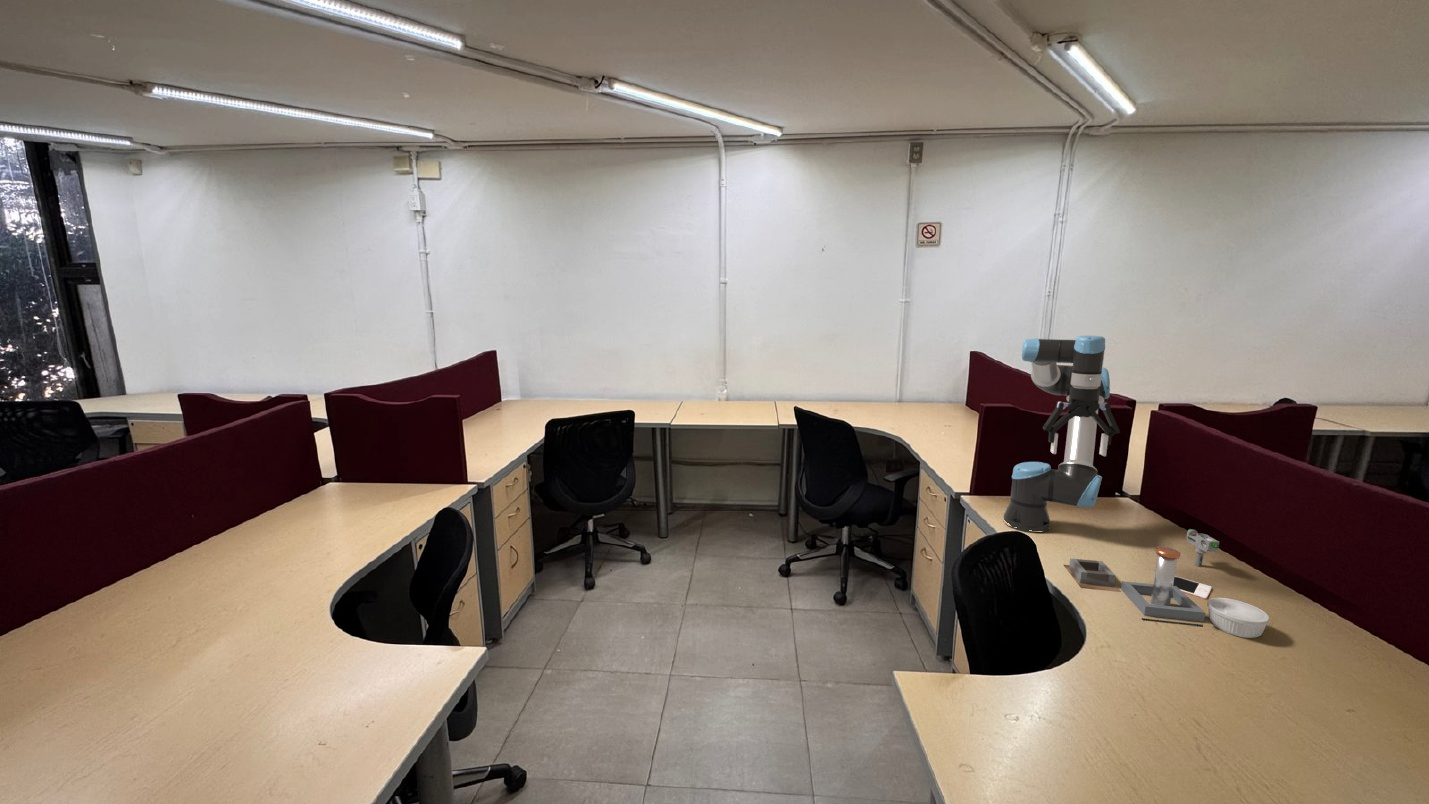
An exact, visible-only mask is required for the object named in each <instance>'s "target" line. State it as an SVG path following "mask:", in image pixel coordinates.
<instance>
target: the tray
mask: <svg viewBox="0 0 1429 804" xmlns="http://www.w3.org/2000/svg"><path fill="white" fill-rule="evenodd" d="M1120 586H1121V587H1120V591H1121V592H1123V594H1125V596H1126V597H1127V598H1128V599H1129V600H1130V601H1131V602H1132V603H1133V604H1134V606H1135V607H1136V608H1137V609H1138V610H1139V611H1140V613H1141V614H1142V615H1143V616H1144V617H1145V616H1146V617H1154V618H1155V617H1156V618H1165V619H1166V618H1167V619H1173V620H1174V619H1176V620H1182V621H1192V622H1201V623H1203V622H1205V617H1206V612H1205V611H1204V609H1202V608H1200V606H1199V605H1197V604H1196V603H1195V602H1194V601H1193V600H1192V599H1191V598H1190V597H1188V596H1189V595H1188V596H1187V594H1185V593H1183V592H1182V591H1181V590H1180V589H1179V588H1178V587H1177V586H1173V590H1172V597H1171V599H1172V598H1173V600H1174V601H1175V602H1176V603H1177V604H1178V605H1179V606H1171V605H1170V606H1163V605H1153V604H1151V603H1149V602H1148V601H1147V600H1146V599H1145V597H1143V596H1142V595H1148V596H1149V595H1150V596H1152V590H1153V583H1145V582H1136V581H1121V585H1120ZM1144 617H1142V618H1141V619H1142V620H1143V621H1146V622H1152V623H1153V622H1155V623H1163V624H1164V623H1166V624H1172V625H1181V626H1182V625H1183V626H1189V627H1191V626H1192V627H1201V628H1203V627H1204V624H1198V623H1190V622H1180V621H1173V620H1172V621H1170V620H1163V619H1162V620H1161V619H1154V618H1153V619H1151V618H1146V617H1145V618H1144Z"/></svg>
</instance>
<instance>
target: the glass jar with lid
mask: <svg viewBox="0 0 1429 804" xmlns="http://www.w3.org/2000/svg"><path fill="white" fill-rule="evenodd" d="M1155 554H1156V555H1157V556H1156V563H1155V569H1154V577H1153V583H1152V584H1153V590H1152V595H1151V598H1150V604H1153V605H1163V606H1171V602H1172V590H1173V583H1174V577H1175V576H1176V570H1177V564H1178V563H1177V562H1178V560H1179V559H1180V558H1181V555H1182V554H1181V551H1179V550H1176V549H1175V548H1172V547H1166V546H1157V547H1156V548H1155Z"/></svg>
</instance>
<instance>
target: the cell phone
mask: <svg viewBox="0 0 1429 804" xmlns="http://www.w3.org/2000/svg"><path fill="white" fill-rule="evenodd" d="M1173 586H1177V587H1178V588H1179V589H1180V590H1181V591H1182V592H1183V593H1184V594H1185V595H1188V596H1192V597H1194V598H1199V599H1203V600H1207V599H1208V597H1209V595H1210V593H1211V591H1212V589H1213V588H1212V586H1211V585H1207V584H1205V583H1200V582H1197V581H1194V580H1190V579H1187V578H1184V577H1180V576H1176V575H1175V577H1174V583H1173Z"/></svg>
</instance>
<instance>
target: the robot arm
mask: <svg viewBox="0 0 1429 804" xmlns="http://www.w3.org/2000/svg"><path fill="white" fill-rule="evenodd" d="M1105 350H1106V338H1105V337H1104V336H1101V335H1079V336H1077V337H1076V338H1075V339H1056V338H1055V339H1053V338H1048V339H1047V338H1029V339H1028V338H1027V339H1025V340H1024V341H1023V343H1022V349H1021V360H1022V361H1023V362H1029V363H1031V371H1030V378H1031V381H1032V383H1033V384H1034V385H1035V386H1036V387H1037V388H1039V389H1040V390H1042V391H1043V392H1046V393H1048V394H1050V395H1055V396H1065V397H1066V401H1067V402H1062V401H1060V400H1058V401H1056V405H1055V408H1054V410H1053V411H1052V412H1051V414H1050V415H1049V417H1048V418H1047V420H1046V422H1045V423H1044V424H1043V426H1042V429H1043V431H1046V432H1048V438H1047V439H1048V443H1050V451H1049V452H1051V453H1052V454H1053V455H1056V454H1057V448H1058V439H1059V433H1057V432H1058V431H1059V430H1060V429H1061V428H1062V427H1064V426H1065V424H1067V432H1066V441H1065V449H1064V456H1063V457H1064V459H1063V462H1061V463H1060V464H1058V467H1057V469H1054V468H1053V469H1052V467H1051V465H1050V464H1049V463H1046V462H1041V461H1024V462H1021V463H1018V464H1016V465H1014V467H1013V469H1012V475H1011V489H1010V501H1009V503H1008V506H1007V507H1006V509H1005V512H1004V513H1003V518H1004V520H1005V521H1006V522H1007V523H1009V524H1010V525H1011V526H1012V527H1017V528H1013V529H1015V530H1017V531H1021V532H1026V533H1027V531H1029V530H1032V531H1046V530H1048V529H1049V528H1050V529H1051V519H1050V515H1049V512H1048V508H1047V506H1048V505H1047V504H1048V502H1050V503H1056V504H1062V505H1068V506H1075V507H1077V508H1081V507H1082V508H1089V509H1090V508H1092V507H1095V504H1096V502H1097V499H1098V494H1099V491H1100V486H1101V485H1102V484H1101V482H1102V479H1103V477H1102V476H1101V475H1100V474H1098V469H1097V468H1096V467H1095V466H1094V455H1095V454H1094V453H1095V446H1096V435H1097V425H1098V426H1099V427H1100V428H1101V429H1102V431H1103V432H1104V433H1101V437H1100V446H1099V453H1098V454H1099V455H1101V456H1103V457H1107V450H1108V446H1110V445H1111V444H1112V438H1113V436H1115V435H1117V434H1120V433H1121V430H1120V428H1119V426H1118V424H1117V422H1116V420H1115V417H1114V415H1113V413H1112V411H1111V409H1112V408H1111V404H1110V403H1108V402H1107V401H1105V400H1107V399H1109V398H1110V394H1111V388H1110V387H1111V386H1110V385H1111V382H1110V373H1109V370H1108V369H1107V367H1103V364H1104V359H1105ZM1057 363H1059V364H1057ZM1061 363H1062V364H1061ZM1064 364H1066V365H1064ZM1067 364H1068V365H1067ZM1069 364H1072V365H1069ZM1066 408H1068V410H1067V411H1066V412H1065V413H1064V414H1063V416H1061V417H1060V415H1061V414H1062V412H1063V410H1065V409H1066ZM1099 409H1100V410H1101V411H1102V413H1103V415H1104V416H1105V419H1106V420H1107V423H1108V425H1109V426H1108V425H1107V424H1106V423H1105V422H1104V421H1103V419H1102V418H1101V417H1100V416H1099ZM1059 417H1060V418H1059ZM1058 418H1059V419H1058ZM1012 527H1011V528H1012ZM1048 531H1049V530H1048ZM1046 532H1047V531H1046Z"/></svg>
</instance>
